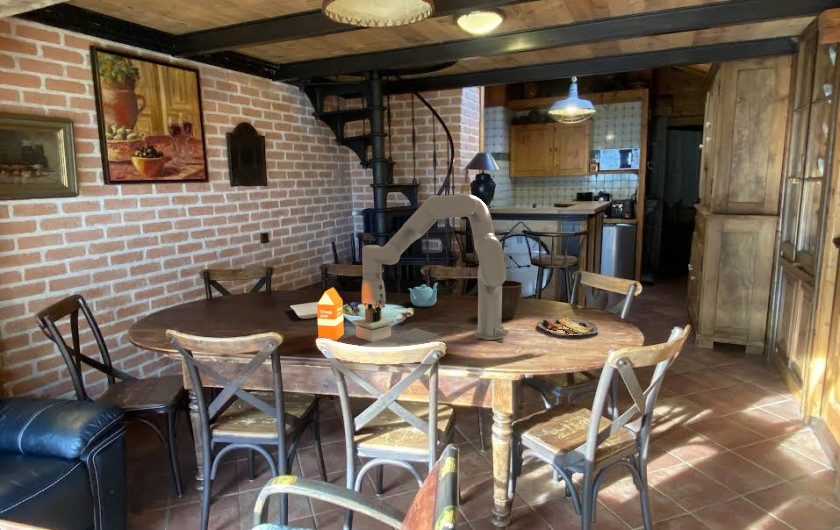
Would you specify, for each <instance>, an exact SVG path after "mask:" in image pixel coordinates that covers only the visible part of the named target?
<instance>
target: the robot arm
mask: <svg viewBox="0 0 840 530" xmlns="http://www.w3.org/2000/svg"><path fill="white" fill-rule="evenodd" d="M464 217H467V218H468V220H469V222H470V228H471V232H472V237H473V238H472V239H473V246H474V251H475V253H476V254H477V258H478V263H479V265H478V268H477V290H478V291H477V296H478V298H477V330H474V332H473V336H474V337H475V338H477V339H480V340H487V341H495V340H501V339H504V338H505V337H507V336H508V334H509V330H508V329H504V328H505V327H504V325H503V324H502V319H501V313H502V284H503V283H504V281H505V280H507V279H506V278H507V270H506V262H505V258H504V251H503V248H502V244H501V241H500V240H499V239H498V238H497V237H496V234H495V228H494V224H493V220H492V215H491V213H490V209H489V208H488V206H487V204H486V203H484V201H482V199H480V198H479V197H477V196H476V195H473V194H472V193H471V194H470V193H468V192H461V193H459V194H455V195H454V194H453V195H452V194H451V195H436V194H435V195H431V196H429V197H428V198H427V199H426V200H425V201H424V202H423V203H422V204H421V205H420V206H419V207H418V208H417V210H416V211H414V213H413V214H412V215H411V216H410V217H409V218H408V219H407V221H405V222H404V224H403V225H402V227H401V228H400V229H398V231H397V232H396V233H395V234H394V235H393V236H392V237H391V238H390V239H389V240H388V242H387V243H386V244H384V246H380V245H378V244H368V245H364V246H363V247H362V248H361V253H362V254H361V255H362V256H361V257H362V260H361V262H362V283H361V303H362V304H363V306H364V307H365V309H369V308H373V307H374V312H373V322H378V321H380V311H381V312H382V309H384V308H386V300H387V299H386V289H385V288H386V287H385V283H384V280H383V275H382V273H383V272H382V269H383V267H382V265H387V266H388V265H389V266H390V265H391V266H392V265H395V264H397V263H398V262H399V261H400V259H401V255H402V254H403V253H404V252H405V251H406V249H408V248H409V247H410V246H411V244H413V243H414V242H416V240H418V239H420V238H421V237H423V236H424V235H425V234H426V233H427V232H428V231H429V229H431V227H433V225H434V224H435V223H436V222H437V221H438V220H439V219H451V218H464ZM376 307H377V308H376Z"/></svg>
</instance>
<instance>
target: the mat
mask: <svg viewBox="0 0 840 530" xmlns="http://www.w3.org/2000/svg"><path fill="white" fill-rule="evenodd" d="M436 336H439V334H437V333H435V332H431V331H427V330H422V329H420V328H416V327H414V328H411V329H408V330H405V331H402V332H398V333H395V334H391V337H395V338H398V339H402V340H405V341H409V342H412V343H419V342H421V341H425V340H428V339H431V338H434V337H436Z"/></svg>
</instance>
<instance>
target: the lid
mask: <svg viewBox="0 0 840 530" xmlns="http://www.w3.org/2000/svg"><path fill="white" fill-rule="evenodd" d="M377 307H378V306H376V308H377ZM373 312H374V307H373V308H369V309H366V308H365V309H364V314H365V315H364V316H365V317H363V318H359V319H355V320H352V324H353V325H356V326H358V325H360V326H363V327H367V328H370V329H374V328H377V327H381V326H385V325H391V324H394V323H395V319H391V318H387V317H382V310H381V311H380V321H378V322H373Z"/></svg>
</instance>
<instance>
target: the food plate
mask: <svg viewBox="0 0 840 530" xmlns="http://www.w3.org/2000/svg"><path fill="white" fill-rule="evenodd" d="M536 325H537V327H539V328H541V329H542V330H544V331H545V332H546V333H549V332H550V331H549V330H553V331H557V330H563V331H565V332H566V333H568V334H573V335H574V334H577V335H578V336H586V335H591V334H596V333H597V332H598V331H600V328H599V326H597V325H596V324H595V323H593V322H589V321H586V320H583V319H578V318H569V317H568V316H567V315H563V316H561V317H550V318H544V319H541V320H539V321H537V323H536ZM563 326H565V327H567V328H569V329H563ZM561 328H562V329H561ZM547 329H549V330H548V331H547ZM570 329H572V330H570ZM573 330H575V331H577V332H580V333H583V334H579V333H577V332H575V331H573ZM589 332H590V333H589ZM566 333H565V334H564V333H561V334H559V333H556V332H555V333H554V332H550V334H553V335H558V336H563V337H564V336H565V337H567V336H566V335H568V334H566ZM585 333H586V334H585ZM573 335H572V336H571V337H574V336H573Z"/></svg>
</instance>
